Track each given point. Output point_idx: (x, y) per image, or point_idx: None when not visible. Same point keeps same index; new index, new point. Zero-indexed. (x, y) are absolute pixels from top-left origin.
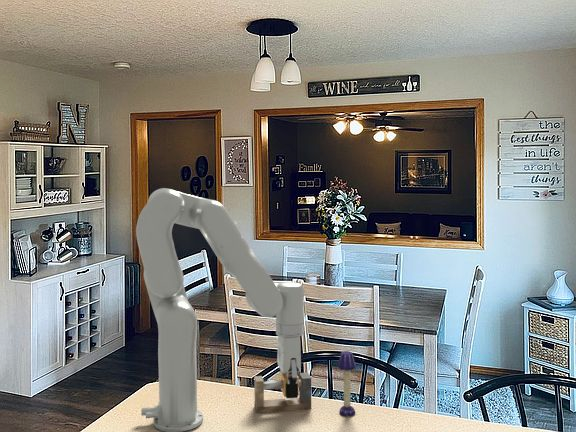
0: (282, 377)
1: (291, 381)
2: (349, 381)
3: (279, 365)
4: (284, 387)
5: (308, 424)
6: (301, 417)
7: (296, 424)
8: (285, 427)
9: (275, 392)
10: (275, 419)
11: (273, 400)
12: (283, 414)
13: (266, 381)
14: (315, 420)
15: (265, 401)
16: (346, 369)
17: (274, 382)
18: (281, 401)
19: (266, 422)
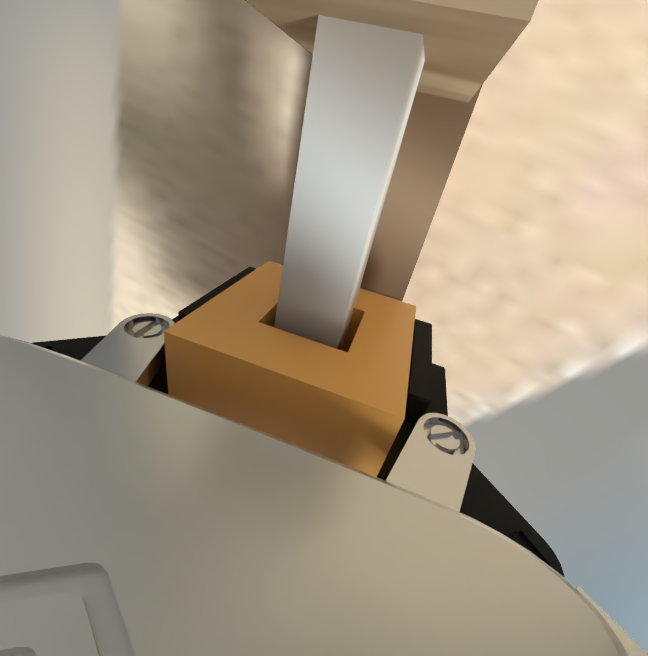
0: (295, 356)
1: (70, 348)
2: None
3: (202, 468)
4: (228, 290)
5: (140, 271)
6: (212, 280)
7: (144, 219)
8: (116, 145)
9: (642, 328)
10: (216, 127)
11: (415, 211)
12: (269, 209)
13: (394, 126)
14: (173, 317)
15: (431, 133)
16: None
17: (309, 230)
18: (368, 258)
19: (186, 39)
